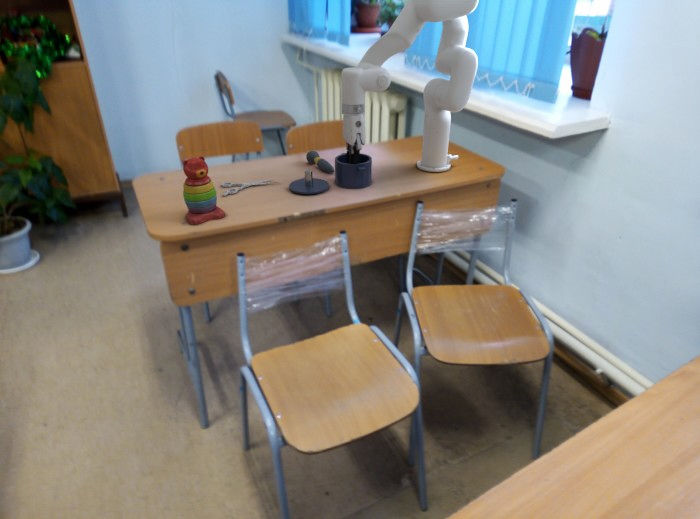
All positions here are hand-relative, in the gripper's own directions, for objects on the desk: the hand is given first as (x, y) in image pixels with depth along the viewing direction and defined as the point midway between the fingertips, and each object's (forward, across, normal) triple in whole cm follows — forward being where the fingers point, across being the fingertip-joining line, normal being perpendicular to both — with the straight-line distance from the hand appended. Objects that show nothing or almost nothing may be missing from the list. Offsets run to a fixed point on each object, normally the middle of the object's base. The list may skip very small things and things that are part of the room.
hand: (353, 162), depth 164 cm
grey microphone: (+7, +19, +6) cm, 21 cm away
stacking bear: (+7, -10, +52) cm, 53 cm away
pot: (+7, 0, 0) cm, 7 cm away
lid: (+6, 0, +16) cm, 17 cm away
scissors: (+7, +9, +35) cm, 37 cm away
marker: (+3, 0, 0) cm, 3 cm away
